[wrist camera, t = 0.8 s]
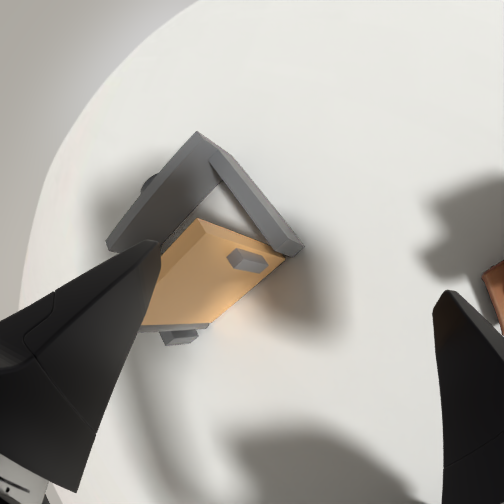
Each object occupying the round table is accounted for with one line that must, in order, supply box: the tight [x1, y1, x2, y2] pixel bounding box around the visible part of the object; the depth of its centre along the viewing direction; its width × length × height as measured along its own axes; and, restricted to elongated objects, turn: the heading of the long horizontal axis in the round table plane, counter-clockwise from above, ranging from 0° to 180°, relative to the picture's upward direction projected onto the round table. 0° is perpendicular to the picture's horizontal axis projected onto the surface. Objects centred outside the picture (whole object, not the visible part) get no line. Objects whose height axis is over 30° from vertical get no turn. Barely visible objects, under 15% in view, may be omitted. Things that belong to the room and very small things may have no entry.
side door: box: [138, 218, 286, 333], centre depth 19 cm, size 2×9×9 cm, turn 126°
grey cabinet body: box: [106, 131, 305, 346], centre depth 24 cm, size 12×13×5 cm
